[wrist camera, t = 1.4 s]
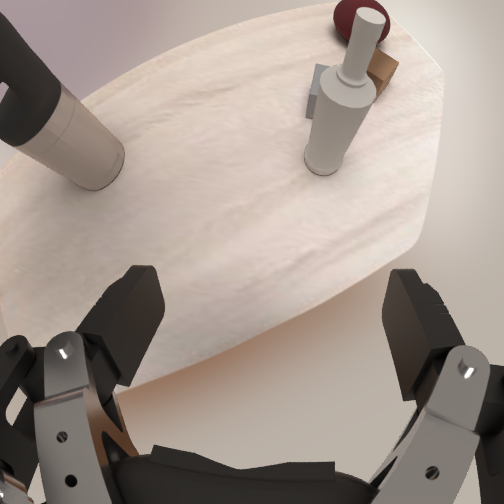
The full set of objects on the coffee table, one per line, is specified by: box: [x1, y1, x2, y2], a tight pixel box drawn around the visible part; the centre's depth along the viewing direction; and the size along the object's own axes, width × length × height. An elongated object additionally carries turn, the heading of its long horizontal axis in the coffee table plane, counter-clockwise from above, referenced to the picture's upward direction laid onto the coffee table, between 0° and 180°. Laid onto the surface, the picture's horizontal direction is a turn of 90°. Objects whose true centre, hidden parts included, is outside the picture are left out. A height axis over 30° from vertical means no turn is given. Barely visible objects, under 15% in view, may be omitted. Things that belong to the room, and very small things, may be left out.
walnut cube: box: [366, 48, 399, 101], centre depth 36 cm, size 6×6×6 cm
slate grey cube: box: [306, 64, 329, 119], centre depth 36 cm, size 6×6×6 cm
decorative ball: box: [333, 0, 390, 44], centre depth 36 cm, size 10×10×10 cm
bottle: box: [304, 7, 386, 176], centre depth 26 cm, size 5×5×25 cm
